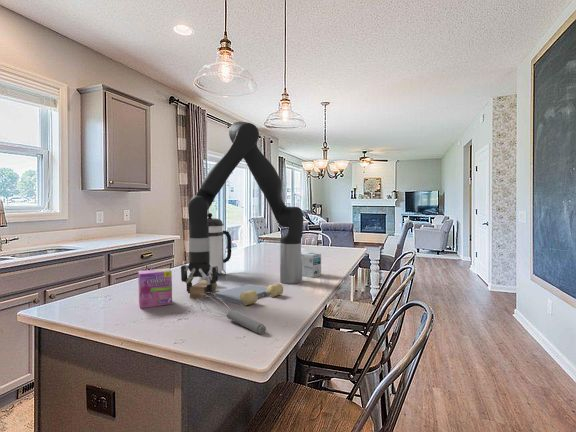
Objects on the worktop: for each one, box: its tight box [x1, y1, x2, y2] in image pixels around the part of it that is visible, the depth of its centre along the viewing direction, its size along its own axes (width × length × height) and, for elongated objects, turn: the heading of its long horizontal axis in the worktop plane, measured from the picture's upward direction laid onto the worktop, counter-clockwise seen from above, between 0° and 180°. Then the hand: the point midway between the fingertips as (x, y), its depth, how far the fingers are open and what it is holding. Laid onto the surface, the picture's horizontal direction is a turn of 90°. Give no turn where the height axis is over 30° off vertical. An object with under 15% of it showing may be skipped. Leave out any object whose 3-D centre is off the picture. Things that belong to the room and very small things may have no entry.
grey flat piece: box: [213, 282, 284, 306], centre depth 128 cm, size 18×18×4 cm
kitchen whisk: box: [195, 292, 270, 335], centre depth 102 cm, size 6×34×6 cm, turn 46°
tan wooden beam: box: [189, 280, 218, 300], centre depth 132 cm, size 12×6×4 cm, turn 170°
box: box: [137, 267, 173, 309], centre depth 118 cm, size 10×6×12 cm, turn 118°
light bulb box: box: [301, 251, 322, 278], centre depth 165 cm, size 11×7×11 cm, turn 49°
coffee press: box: [207, 212, 232, 276], centre depth 165 cm, size 17×16×30 cm
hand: (199, 293), depth 128 cm, fingers open, 7 cm apart
